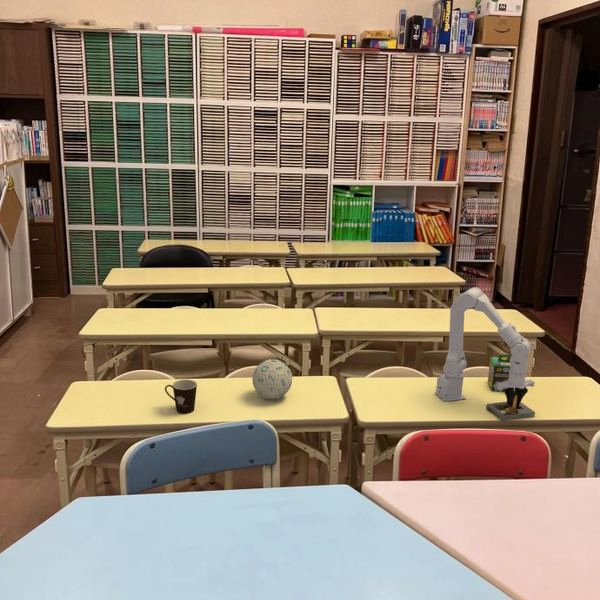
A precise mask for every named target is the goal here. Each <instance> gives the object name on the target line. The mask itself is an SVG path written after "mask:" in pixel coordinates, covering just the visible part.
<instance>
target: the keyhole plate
mask: <svg viewBox="0 0 600 600" xmlns="http://www.w3.org/2000/svg"><path fill="white" fill-rule="evenodd" d="M506 408H509V406H508V405H507V401H502V402H501V401H500V402H492V403H486V405H485V410H487V411H492V412H493V413H495V414H496V415H498V416H499V417H498V420H500V421H501V422H505V421H510V420H520V419H521V420H522V419H527V418H534V417H535V414H536V411H535V410H533V409H532V408H530V407H529V406H527V405H526V404H525V403H523V402H522V401H521V402H520V405H519V406H516V409H517V408H518V409H517V410H514V412H506V411H505V412H502V411H501V410H503V409H504V410H506Z"/></svg>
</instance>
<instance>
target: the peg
mask: <svg viewBox="0 0 600 600" xmlns="http://www.w3.org/2000/svg"><path fill="white" fill-rule="evenodd" d="M517 397H518V395H515V397H514V401H513V406H512V407H510V406H509V408H506V409H505V413H506V412H514V410H517V407H516V404H517Z"/></svg>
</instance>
